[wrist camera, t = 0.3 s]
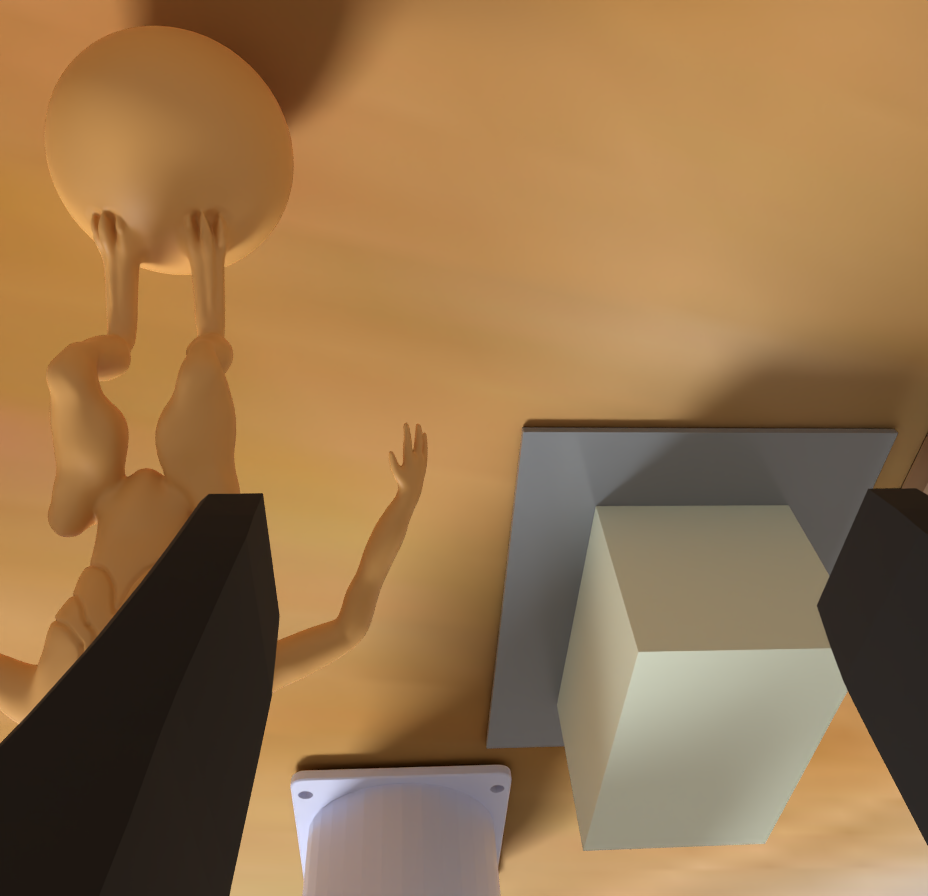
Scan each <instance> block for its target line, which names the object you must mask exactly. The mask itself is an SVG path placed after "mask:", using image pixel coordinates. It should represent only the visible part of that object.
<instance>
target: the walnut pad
mask: <svg viewBox="0 0 928 896" xmlns="http://www.w3.org/2000/svg"><path fill="white" fill-rule="evenodd" d="M902 488H917V489H918V490H920V491H922V492H924V493H925V494H927V495H928V434H927V436H926V438H925V440H924V442H923V444H922V446H921V449H920V451H919V453H918V455H917V457H916V459H915V461H914V463H913V465H912V467H911V469H910V471H909V473H908V475H907V477H906V479H905V481H904V483H903V486H902Z"/></svg>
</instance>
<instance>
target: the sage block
mask: <svg viewBox="0 0 928 896" xmlns="http://www.w3.org/2000/svg"><path fill="white" fill-rule="evenodd" d="M828 579H829V574H828V572H827V571H826V569H825V567H824V566H823V564H822V562H821V560H820V559H819V557H818V555H817V553H816V552H815V550H814V548H813V547H812V545H811V543H810V541H809V540H808V538H807V536H806V534H805V533H804V531H803V529H802V528H801V526H800V524H799V522H798V521H797V519H796V517H795V515H794V514H793V512H792V510H791V509H790V507H789V505H728V506H596V508H595V513H594V518H593V523H592V528H591V533H590V538H589V543H588V549H587V554H586V559H585V564H584V569H583V574H582V579H581V584H580V589H579V594H578V600H577V605H576V610H575V615H574V620H573V625H572V630H571V635H570V640H569V646H568V651H567V656H566V661H565V666H564V671H563V676H562V681H561V686H560V692H559V697H558V702H557V708H558V714H559V719H560V725H561V730H562V736H563V741H564V747H565V752H566V758H567V763H568V769H569V775H570V780H571V786H572V791H573V797H574V802H575V808H576V813H577V819H578V824H579V830H580V835H581V841H582V846H583V851H590V850H616V849H641V848H667V847H693V846H719V845H744V844H765V843H766V841H767V839H768V837H769V835H770V833H771V831H772V830H773V828H774V826H775V824H776V822H777V820H778V819H779V817H780V815H781V813H782V811H783V809H784V807H785V806H786V804H787V802H788V800H789V798H790V796H791V795H792V793H793V791H794V789H795V787H796V785H797V783H798V782H799V780H800V778H801V776H802V774H803V772H804V770H805V769H806V767H807V765H808V763H809V761H810V759H811V758H812V756H813V754H814V752H815V750H816V748H817V746H818V745H819V743H820V741H821V739H822V737H823V735H824V734H825V732H826V730H827V728H828V726H829V724H830V722H831V721H832V719H833V717H834V715H835V713H836V711H837V709H838V708H839V706H840V704H841V702H842V700H843V698H844V697H845V695H846V693H847V691H848V690H847V688H846V686H845V684H844V682H843V679H842V677H841V674H840V671H839V669H838V666H837V663H836V661H835V658H834V655H833V653H832V650H831V647H830V644H829V641H828V638H827V635H826V632H825V629H824V626H823V623H822V620H821V617H820V614H819V611H818V608H817V604H818V601H819V599H820V597H821V594H822V592H823V590H824V588H825V585H826V583H827V581H828Z"/></svg>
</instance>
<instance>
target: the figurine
mask: <svg viewBox="0 0 928 896" xmlns="http://www.w3.org/2000/svg"><path fill="white" fill-rule="evenodd" d="M44 140H45V152H46V158H47V163H48V168H49V171H50V175H51V178H52V180H53V183H54V186H55V188H56V190H57V192H58V195H59V197H60V198H61V200H62V202H63V204H64V205H65V207H66V209H67V210H68V212H69V213H70V215H71V216H72V217H73V219H74V220H75V221H76V222H77V224H78V225H79V226H80V227H81V228H82V229H83V230H84V231H85V232H86V233H87V234H88V235H89V236H90V237H91V238H92V239H93V240H94V242H95V244H96V246H97V248H98V250H99V252H100V254H101V256H102V259H103V264H104V272H105V293H106V312H107V335H100V336H95V337H92V338H89V339H86V340H84V341H83V342H75V343H72V344H70V345H68V346H67V347H66V348H65V349H64V350H63V351H62V352H60V353H59V354H58V355H57V356H56V357H55V358H54V359H53V360H52V361H51V362H50V364H49V366H48V369H47V374H46V377H47V383H48V387H49V390H50V394H51V402H50V425H51V432H52V438H53V445H54V454H55V460H56V469H57V470H56V477H55V481H54V486H53V491H52V500H51V504H50V507H49V511H48V522H49V524H50V526H51V528H52V529H53V530H54V532H55V533H57V534H58V535H60V536H63V537H74V536H77V535H79V534H81V533H82V532H83V531H84V530H86V529H87V528H89V527H90V526H92V525H94V524H98V529H97V536H96V541H95V546H94V550H93V554H92V558H91V563H90V566H89V567H87V568H85V569H84V571H83V572H82V574H81V576H80V577H79V580H78V582H77V584H76V587H75V590H74V593H73V596H74V597H71V598H69V599H68V600H67V601H66V603H65V604H64V605H63V606H62V608H61V609H60V610H59V611H58V613H57V614H56V617H55V618H56V621H54V622H53V623H51V625H50V627H49V630H48V633H47V636H46V640H45V645H44V649H43V652H42V655H41V658H40V660H39V663H38V665H32V664H28V663H25V662H22V661H19V660H16V659H14V658H11V657H8V656H5V655H3V654H0V711H1V712H3V713H4V714H5V715H6V716H8V717H9V718H10V719H12V720H13V721H14V722H16V723H18V724H19V723H20V722H21V721H22V720H23V719H24V718H25V717H26V716H27V715H28V714H29V713H30V712H31V711H32V710H33V708H34V707H35V706H36V705H37V704H38V703H39V702H40V701H41V699H42V698H43V697H44V696H45V695H46V694H47V693H48V692H49V691H50V689H51V688H52V687H53V686H54V685H55V684H56V683H57V682H58V680H59V679H60V678H61V677H62V676H63V675H64V674H65V673H66V672H67V670H68V669H69V668H70V667H71V666H72V665H73V664H74V663H75V661H76V660H77V659H78V658H79V657H80V656H81V655H82V654H83V652H84V651H85V650H86V649H87V648H88V647H89V646H90V644H91V643H92V642H93V641H94V640H95V638H96V637H97V636H98V635H99V634H100V632H101V631H102V630H103V629H104V627H105V626H106V625H107V624H108V622H109V621H110V620H111V619H112V618H113V616H114V615H115V614H116V613H117V611H118V610H119V609H120V608H121V606H122V605H123V604H124V603H125V601H126V600H127V599H128V598H129V596H130V595H131V594H132V593H133V592H134V590H135V589H136V588H137V587H138V585H139V584H140V583H141V581H142V580H143V579H144V577H145V576H146V575H147V574H148V572H149V571H150V570H151V568H152V567H153V566H154V564H155V563H156V562H157V560H158V559H159V558H160V556H161V555H162V554H163V552H164V551H165V550H166V548H167V547H168V546H169V544H170V543H171V542H172V540H173V539H174V537H175V536H176V535H177V533H178V532H179V530H180V529H181V528H182V526H183V525H184V523H185V522H186V521H187V519H188V518H189V516H190V515H191V514H192V512H193V511H194V509H195V508H196V507H197V505H198V504H199V502H200V501H201V500H202V499H203V498H205V497H206V496H207V495H208V494H240V488H239V483H238V479H237V475H236V471H235V463H234V448H235V440H236V417H235V409H234V405H233V401H232V397H231V393H230V390H229V386H228V383H227V380H226V377H225V373H226V372H227V370H228V369H229V367H230V365H231V363H232V360H233V351H232V347H231V345H230V344H229V342H228V341H227V340H226V339H225V338H224V332H225V287H224V267H227V266H229V265H231V264H233V263H235V262H237V261H239V260H241V259H243V258H244V257H246V256H247V255H249V254H250V253H251V252H253V251H254V250H255V249H256V248H257V247H259V246H260V245H261V244H262V243H263V242H264V241H265V239H266V238H267V237H268V236H269V235H270V234H271V232H272V231H273V230H274V228H275V227H276V225H277V223H278V222H279V220H280V218H281V216H282V214H283V212H284V210H285V207H286V205H287V202H288V199H289V195H290V191H291V186H292V180H293V149H292V142H291V137H290V133H289V129H288V126H287V123H286V120H285V117H284V115H283V113H282V110H281V108H280V106H279V104H278V102H277V100H276V98H275V97H274V95H273V93H272V92H271V90H270V89H269V87H268V86H267V85H266V83H265V82H264V81H263V79H262V78H261V77H260V76H259V75H258V73H257V72H256V71H255V70H254V69H253V68H252V67H251V66H250V65H249V64H248V63H247V62H246V61H244V60H243V59H242V58H241V57H240V56H238V55H237V54H236V53H234V52H233V51H232V50H230V49H229V48H227V47H225V46H224V45H222V44H220V43H219V42H217V41H215V40H213V39H211V38H209V37H206V36H204V35H201V34H199V33H196V32H193V31H189V30H186V29H181V28H176V27H169V26H140V27H133V28H128V29H124V30H121V31H118V32H115V33H112V34H110V35H107V36H105V37H103V38H101V39H99V40H98V41H96V42H94V43H93V44H91V45H90V46H88V47H87V48H86V49H85V50H83V51H82V52H81V53H80V54H79V55H78V56H77V57H76V58H75V59H74V60H73V61H72V62H71V63H70V64H69V65H68V67H67V68H66V69H65V71H64V72H63V74H62V75H61V77H60V79H59V80H58V82H57V84H56V86H55V88H54V91H53V93H52V95H51V98H50V101H49V105H48V109H47V114H46V120H45V132H44ZM139 267H141V268H144V269H147V270H151V271H155V272H160V273H166V274H175V275H192V282H193V291H194V304H195V323H196V328H197V333H198V337H197V338H195V339H194V340H193V341H192V342H191V343H190V344H189V346H188V348H187V350H186V358H185V360H184V361H183V363H182V365H181V367H180V370H179V373H178V377H177V381H176V385H175V390H174V393H173V395H172V397H171V399H170V400H169V402H168V403H167V405H166V406H165V408H164V410H163V411H162V413H161V415H160V418H159V420H158V423H157V427H156V436H155V440H156V449H157V454H158V458H159V461H160V464H161V466H162V468H163V471H164V475H165V476H163V475H162V474H160V473H159V472H157V471H155V470H153V469H148V468H145V469H141V470H138V471H136V472H135V473H134V474H132V475H131V476H129V477H126V476H125V462H126V455H127V448H128V426H127V422H126V420H125V418H124V416H123V414H122V413H121V412H120V410H119V409H118V408H117V407H116V406H115V405H113V404H112V403H111V402H110V401H109V400H108V399H107V398H106V397H105V395H104V394H103V392H102V390H101V387H100V383H99V381H108V380H111V379H114V378H116V377H119V376H121V375H122V374H124V373H125V372H126V371H127V369H128V368H129V365H130V361H131V355H130V352H131V350H132V348H133V346H134V344H135V339H136V330H137V306H138V279H139ZM389 463H390V468H391V471H392V473H393V476H394V478H395V480H396V481H397V483H398V492H397V495H396V497H395V498H394V500H393V501H392V502H391V503H390V505H389V506H388V507H387V509H386V510H385V512H384V513H383V515H382V516H381V518H380V519H379V521H378V522H377V524H376V526H375V528H374V530H373V532H372V534H371V536H370V538H369V540H368V542H367V545H366V547H365V550H364V553H363V556H362V559H361V562H360V565H359V568H358V570H357V573H356V575H355V576H354V578H353V580H352V582H351V583H350V585H349V587H348V589H347V592H346V594H345V597H344V601H343V604H342V608H341V611H340V613H339V615H338V617H337V618H336V619H335V620H333V621H330V622H327V623H324V624H321V625H318V626H314V627H311V628H309V629H306V630H303V631H301V632H298V633H296V634H293V635H291V636H288V637H286V638H283V639H281V640H278V641H277V648H276V659H275V669H274V679H273V688H272V693H273V692H275V691H277V690H279V689H280V688H282V687H284V686H287V685H289V684H291V683H294V682H296V681H298V680H301V679H303V678H305V677H307V676H308V675H310V674H312V673H314V672H316V671H318V670H320V669H321V668H323V667H325V666H327V665H329V664H330V663H332V662H334V661H335V660H337V659H339V658H340V657H342V656H343V655H345V654H346V653H348V652H349V651H350V650H352V649H353V648H354V647H355V646H356V645H357V644H358V643H359V642H360V641H361V640H362V639H363V637H364V636H365V634H366V632H367V631H368V628H369V626H370V624H371V621H372V617H373V614H374V610H375V607H376V603H377V599H378V596H379V592H380V589H381V587H382V584H383V582H384V580H385V578H386V576H387V573H388V571H389V569H390V567H391V565H392V563H393V561H394V559H395V557H396V555H397V553H398V551H399V549H400V547H401V545H402V542H403V540H404V537H405V534H406V531H407V527H408V524H409V521H410V518H411V515H412V513H413V511H414V508H415V506H416V504H417V502H418V500H419V497H420V494H421V490H422V486H423V481H424V476H425V472H426V466H427V436H426V433H423V435H422V429H421V426H420V425H419V424H417V425H416V432H415V442H414V449H413V450H412V441H411V434H410V429H409V426H408V424H407V423H405V424H404V443H403V465H402V466H400V465H399V464H398V462H397V460H396V458H395V455H394V453H393V452H392V451H390V452H389Z"/></svg>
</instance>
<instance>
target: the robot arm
mask: <svg viewBox="0 0 928 896" xmlns="http://www.w3.org/2000/svg"><path fill="white" fill-rule="evenodd" d="M817 608H818V611H819V614H820V617H821V620H822V623H823V626H824V629H825V632H826V635H827V638H828V641H829V644H830V647H831V650H832V653H833V655H834V658H835V661H836V663H837V666H838V669H839V671H840V674H841V677H842V679H843V682H844V684H845V686H846V688H847V690H848V692H849V694H850V696H851V698H852V700H853V702H854V704H855V706H856V708H857V710H858V712H859V714H860V716H861V718H862V720H863V722H864V724H865V726H866V728H867V730H868V732H869V734H870V736H871V737H872V739H873V741H874V743H875V745H876V747H877V749H878V751H879V753H880V755H881V757H882V759H883V761H884V763H885V764H886V766H887V768H888V770H889V772H890V774H891V776H892V778H893V780H894V782H895V784H896V786H897V787H898V789H899V791H900V793H901V795H902V797H903V799H904V801H905V803H906V805H907V807H908V809H909V811H910V812H911V814H912V816H913V818H914V820H915V822H916V824H917V826H918V828H919V830H920V832H921V834H922V836H923V837H924V839H925V841H926V843H927V845H928V495H927V494H925V493H924V492H922V491H920V490H918V489H917V488H892V489H868V490H867V492H866V495H865V497H864V499H863V501H862V504H861V506H860V508H859V511H858V513H857V515H856V517H855V520H854V522H853V524H852V526H851V529H850V531H849V533H848V535H847V538H846V540H845V542H844V545H843V547H842V549H841V551H840V554H839V556H838V558H837V560H836V563H835V565H834V567H833V570H832V572H831V574H830V576H829V579H828V581H827V583H826V585H825V588H824V590H823V592H822V594H821V597H820V599H819V601H818V604H817ZM278 627H279V609H278V601H277V594H276V586H275V579H274V572H273V564H272V557H271V550H270V542H269V535H268V528H267V520H266V513H265V506H264V498H263V493H255V494H208V495H207V496H206V497H205V498H203V499H202V500H201V501H200V502H199V504H198V505H197V507H196V508H195V509H194V511H193V512H192V514H191V515H190V516H189V518H188V519H187V521H186V522H185V523H184V525H183V526H182V528H181V529H180V530H179V532H178V533H177V535H176V536H175V537H174V539H173V540H172V542H171V543H170V544H169V546H168V547H167V548H166V550H165V551H164V552H163V554H162V555H161V556H160V558H159V559H158V560H157V562H156V563H155V564H154V566H153V567H152V568H151V570H150V571H149V572H148V574H147V575H146V576H145V577H144V579H143V580H142V581H141V583H140V584H139V585H138V587H137V588H136V589H135V590H134V592H133V593H132V594H131V595H130V596H129V598H128V599H127V600H126V601H125V603H124V604H123V605H122V606H121V608H120V609H119V610H118V611H117V613H116V614H115V615H114V616H113V618H112V619H111V620H110V621H109V622H108V624H107V625H106V626H105V627H104V629H103V630H102V631H101V632H100V634H99V635H98V636H97V637H96V638H95V640H94V641H93V642H92V643H91V644H90V646H89V647H88V648H87V649H86V650H85V651H84V652H83V654H82V655H81V656H80V657H79V658H78V659H77V660H76V661H75V663H74V664H73V665H72V666H71V667H70V668H69V669H68V670H67V672H66V673H65V674H64V675H63V676H62V677H61V678H60V679H59V680H58V682H57V683H56V684H55V685H54V686H53V687H52V688H51V689H50V691H49V692H48V693H47V694H46V695H45V696H44V697H43V698H42V699H41V701H40V702H39V703H38V704H37V705H36V706H35V707H34V708H33V710H32V711H31V712H30V713H29V714H28V715H27V716H26V717H25V718H24V719H23V720H22V721H21V722H20V723H19V724H18V725H17V726H16V728H15V729H14V730H13V731H12V732H11V733H10V734H9V735H8V736H7V737H6V738H5V739H4V740H3V741H2V742H1V743H0V896H229V895H230V889H231V884H232V880H233V875H234V871H235V866H236V861H237V857H238V852H239V847H240V843H241V838H242V833H243V829H244V824H245V820H246V815H247V810H248V806H249V801H250V796H251V792H252V787H253V782H254V778H255V773H256V769H257V764H258V759H259V754H260V750H261V745H262V740H263V736H264V731H265V726H266V721H267V717H268V712H269V707H270V702H271V697H272V688H273V679H274V669H275V659H276V648H277V638H278ZM511 781H512V778H511V771H510V769H509V768H508V767H507V766H504V765H467V766H433V767H400V768H366V769H333V770H304V771H299V772H296V773H295V774H294V775H293V776H292V779H291V793H292V800H293V807H294V814H295V821H296V828H297V835H298V842H299V849H300V856H301V863H302V870H303V877H304V885H303V896H501V895H500V885H499V874H498V865H499V859H500V852H501V846H502V839H503V833H504V826H505V820H506V813H507V807H508V800H509V794H510V788H511Z"/></svg>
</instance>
